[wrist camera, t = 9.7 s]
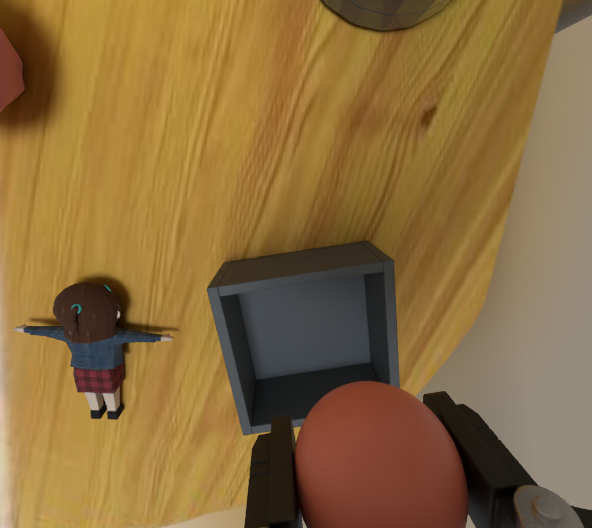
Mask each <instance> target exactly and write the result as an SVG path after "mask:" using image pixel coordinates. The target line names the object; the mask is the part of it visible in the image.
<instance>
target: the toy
mask: <svg viewBox="0 0 592 528" xmlns="http://www.w3.org/2000/svg"><path fill="white" fill-rule="evenodd" d="M104 285H105V284H104ZM104 285H101V284H97V283H79V284H74V285H71V286H69V287H67V288H66V289H64V290H63V291H62V292H61V293H60V294H59V295H58V296H57V297H56V299H55V301H54V307H53V313H54V315H55V316H56V318H57V320H58V321H59V322H60V323H61V325H62V326H26V325H22V326H18V327H15V328H13V331H18V332H25V333H30V335H40V336H47V337H51V338H55V339H58V340H61V341H65V342H67V344H68V346H69V348H70V350H71V352H72V359H71V367H74V373H73V375H74V379H75V383H76V387H77V391H78V392H84V393H85V395H86V398H87V400H88V402H89V405H90V408H91V418H92V419H101V417H102V416H103V414H104V413H105V411H106V410H107V409H108V412H107V415H108V419H116V420H117V419H118V418H119V416H120V414H121V413H122V411H123V409H124V406H123V405H120V385H121V383H122V382H123V380H124V379H125V375H124V363H123V361H124V354H123V350H122V346H123V343H131V342H155V341H171V340H172V339H173V337H172V336H170V334H167V335H160V334H153V333H147V332H141V331H136V330H129V329H121V328H117V327H116V322H117V320H118V318H119V317H120V310H121V306H120V302H119V298H118V297H117V295H116V293H115V292H114V291H112V290H110V289H109V287H108V286H107V285H105V286H104ZM103 397H104V400H105V403H106V405H104V404H103Z"/></svg>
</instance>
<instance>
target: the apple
mask: <svg viewBox="0 0 592 528" xmlns="http://www.w3.org/2000/svg"><path fill="white" fill-rule="evenodd" d="M22 72H23V63H22V61H21V59H20V57H19V55H18V53H17V51H16V50H15V49H14V48H13V46H12V45H11V43H10V42H9V40H8V39H7V37H6V35H5V34H4V32H3V31H2V29H1V28H0V112H1V111H2V110H4V108H5V107H6V106H7V105H8V104H9V103H11V102H12V101H14V100H15V99H16V98H17V97H18V96H19V95H20V94H21V93H22V92H23V91H24V90H25V87H24V82H23V77H22Z"/></svg>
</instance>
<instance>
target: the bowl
mask: <svg viewBox="0 0 592 528" xmlns="http://www.w3.org/2000/svg"><path fill="white" fill-rule="evenodd" d="M323 1H324V2H325V4H326V5H327V6H328V7H330V8H331V9H333V10H334V11H335V12H337V13H338V14H340V15H341V16H343V17H344V18H346V19H347V20H349V21H350V22H352V23H354V24H356V25H360V26H364V27H369V28H373V29H377V30H381V31H385V30H392V29H398V28H405V27H411V26H414V25H415V24H417V23H419V22H421V21H423V20H425V19H427V18H428V17H430V16H432V15H434V14H436V13H438V12H439V11H441V10H442V9H443V8H444V7H445V6H446V4H447V3H448V2H449V1H450V0H323Z"/></svg>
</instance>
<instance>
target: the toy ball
mask: <svg viewBox="0 0 592 528" xmlns="http://www.w3.org/2000/svg"><path fill="white" fill-rule="evenodd" d="M294 476H295V485H296V494H297V501H298V506H299V509H300V512H301V515H302V517H303V520H304V522H305V524H306V526H307V528H465V527H466V522H467V515H468V488H467V480H466V475H465V471H464V467H463V464H462V460H461V458H460V455H459V453H458V450H457V448H456V446H455V443H454V441H453V440H452V438H451V436H450V434H449V433H448V431H447V430H446V428H445V427H444V425H443V424H442V423H441V421H440V420H439V419H438V417H437V416H436V415H435V414H434V413H433V412H432V411H431V410H430V409H429V408H428V407H427V406H426V405H425V404H424V403H422V402H421V401H420V400H418V399H417V398H416V397H414V396H413V395H411V394H410V393H408V392H406V391H404V390H402V389H400V388H398V387H395V386H393V385H389V384H385V383H381V382H375V381H360V382H353V383H349V384H346V385H343V386H340V387H338V388H336V389H334V390H332V391H331V392H329V393H328V394H326V395H325V396H324V397H322V398H321V399H320V400H319V401H318V402H317V403H316V404H315V406H314V407H313V408H312V409H311V411H310V412H309V414H308V415H307V417H306V419H305V420H304V422H303V424H302V427H301V429H300V431H299V434H298V437H297V441H296V445H295V451H294Z"/></svg>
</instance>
